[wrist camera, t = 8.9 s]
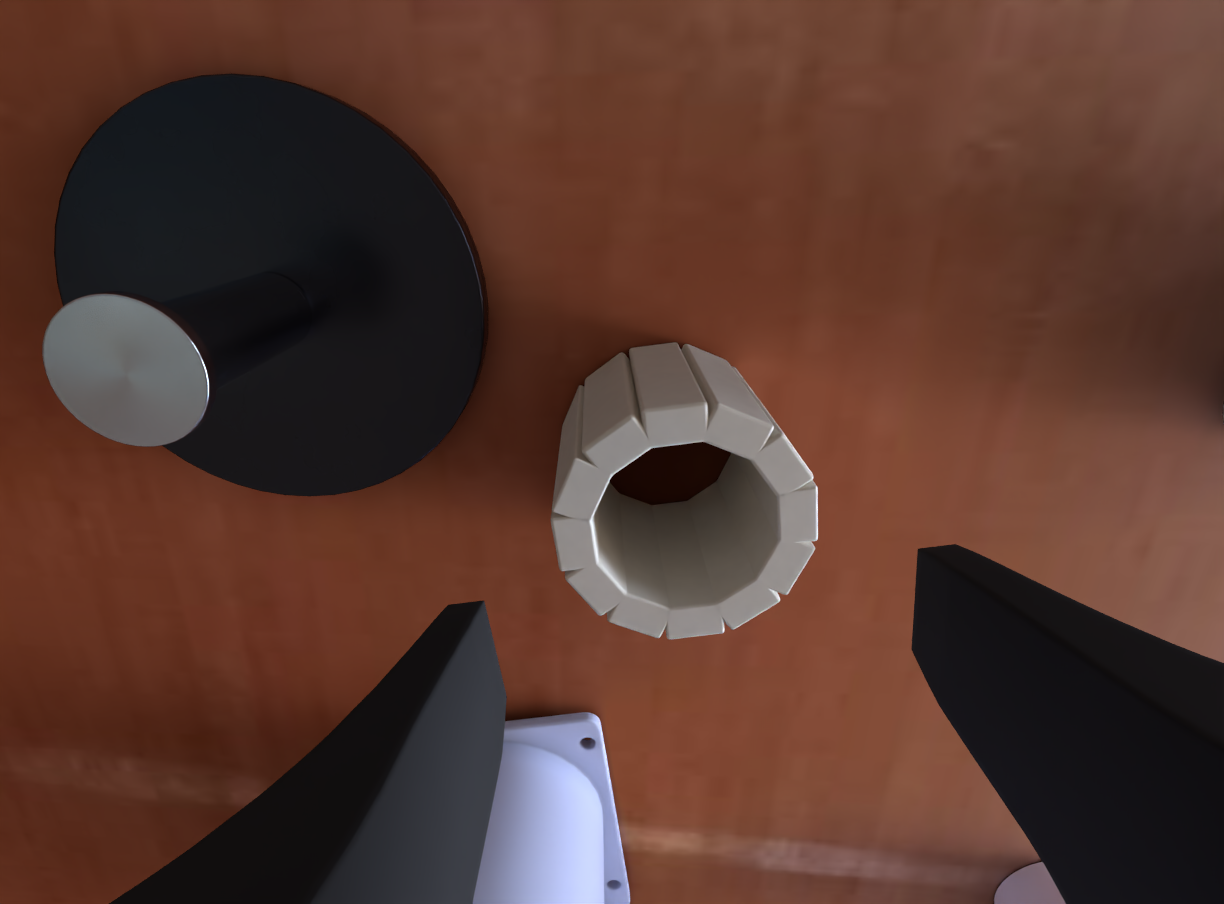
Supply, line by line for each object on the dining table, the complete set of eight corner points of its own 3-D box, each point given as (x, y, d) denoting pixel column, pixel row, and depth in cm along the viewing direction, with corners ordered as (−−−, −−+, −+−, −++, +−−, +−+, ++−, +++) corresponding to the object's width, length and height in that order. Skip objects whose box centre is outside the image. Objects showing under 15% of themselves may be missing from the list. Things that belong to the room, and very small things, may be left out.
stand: (520, 460, 18) (486, 592, 13) (170, 504, 19) (-20, 652, 13) (440, 49, 15) (340, -35, 9) (1, 110, 15) (-379, 69, 9)
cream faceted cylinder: (765, 516, 19) (819, 623, 15) (578, 539, 19) (574, 652, 15) (758, 330, 17) (818, 387, 13) (549, 358, 17) (532, 423, 13)
